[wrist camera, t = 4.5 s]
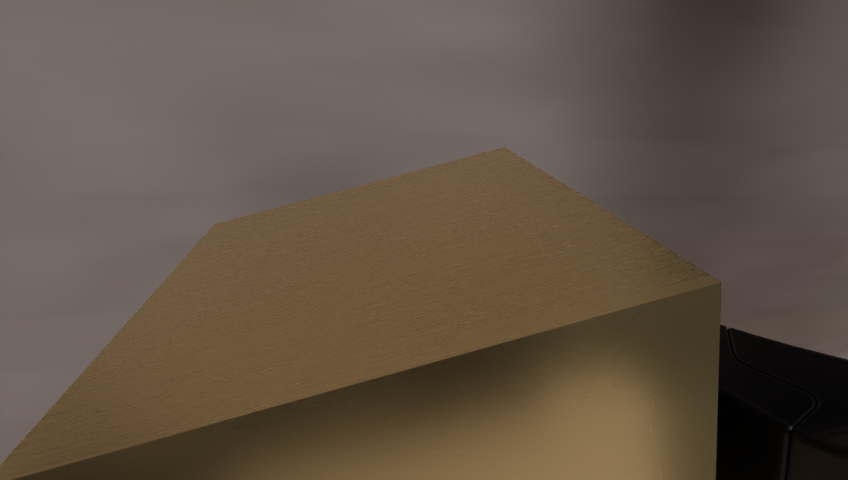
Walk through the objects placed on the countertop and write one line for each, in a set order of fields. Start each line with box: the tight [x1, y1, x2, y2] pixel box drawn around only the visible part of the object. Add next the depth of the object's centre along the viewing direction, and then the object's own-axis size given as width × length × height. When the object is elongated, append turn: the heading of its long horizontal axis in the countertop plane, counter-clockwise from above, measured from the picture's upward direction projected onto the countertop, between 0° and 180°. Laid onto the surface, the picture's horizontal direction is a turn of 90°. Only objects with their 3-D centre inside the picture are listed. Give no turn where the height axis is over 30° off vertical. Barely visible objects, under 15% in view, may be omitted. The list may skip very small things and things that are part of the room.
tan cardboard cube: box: [0, 147, 721, 480], centre depth 7 cm, size 6×6×6 cm
